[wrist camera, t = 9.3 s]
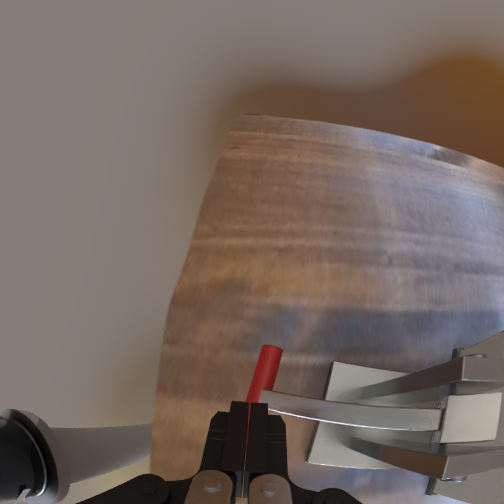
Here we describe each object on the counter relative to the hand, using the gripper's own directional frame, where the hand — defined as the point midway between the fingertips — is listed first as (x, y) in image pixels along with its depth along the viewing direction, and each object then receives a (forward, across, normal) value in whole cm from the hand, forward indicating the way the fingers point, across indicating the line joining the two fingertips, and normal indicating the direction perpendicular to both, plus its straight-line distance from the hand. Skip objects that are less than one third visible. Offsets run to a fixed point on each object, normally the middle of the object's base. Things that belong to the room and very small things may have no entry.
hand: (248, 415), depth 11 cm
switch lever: (+1, -6, +1) cm, 6 cm away
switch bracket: (+6, -10, +7) cm, 14 cm away
